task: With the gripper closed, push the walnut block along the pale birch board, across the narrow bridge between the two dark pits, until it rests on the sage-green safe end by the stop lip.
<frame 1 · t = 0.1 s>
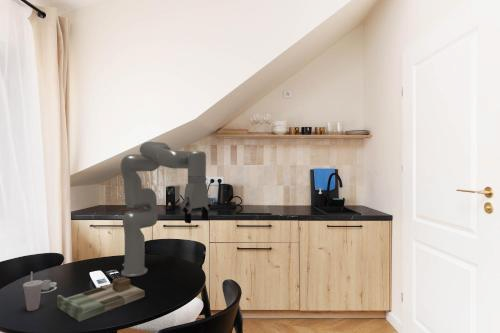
hand: (196, 221, 130), 31 cm above the table, tool pointing down, fingers open, 9 cm apart
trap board: (102, 301, 123), on the table
smoothie: (33, 309, 117), on the table
teacup and saucer: (54, 290, 136), on the table
walnut block: (121, 289, 129), point 2 cm above the table, touching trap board
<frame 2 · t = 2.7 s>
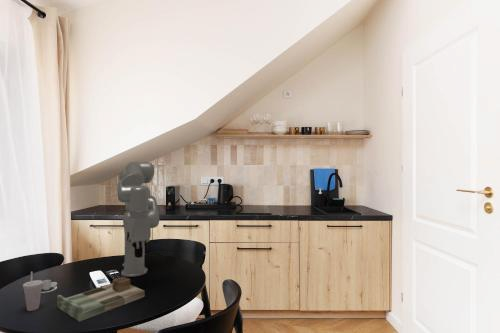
hand: (138, 256, 135), 14 cm above the table, tool pointing down, fingers closed
nothing on the table moved.
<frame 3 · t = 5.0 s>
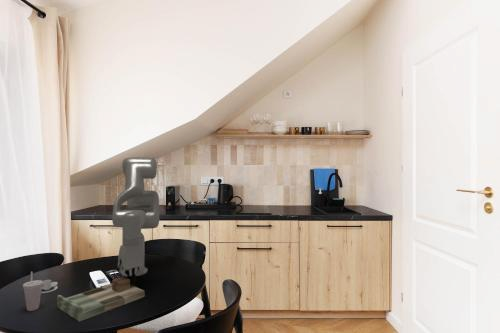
hand: (131, 283, 133), 3 cm above the table, tool pointing down, fingers closed
walnut block: (120, 289, 129), point 3 cm above the table, touching gripper, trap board
everything else where it was.
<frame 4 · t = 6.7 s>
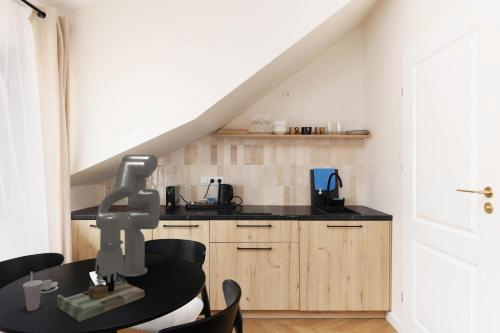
hand: (110, 290, 125), 3 cm above the table, tool pointing down, fingers closed
walnut block: (98, 297, 121), point 3 cm above the table, touching gripper
everything else where it was.
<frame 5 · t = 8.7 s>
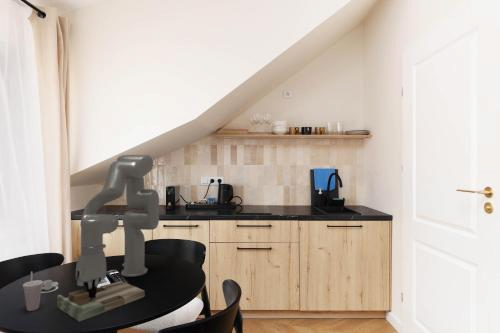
hand: (91, 297, 119), 3 cm above the table, tool pointing down, fingers closed
walnut block: (78, 303, 116), point 2 cm above the table, touching gripper, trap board
everything else where it was.
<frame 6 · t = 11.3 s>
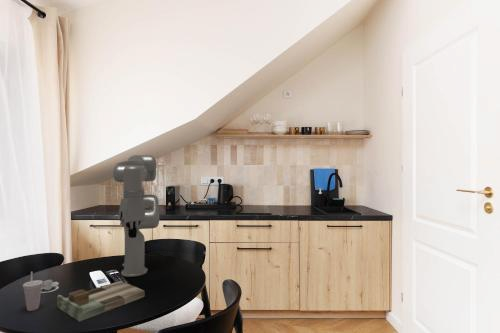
hand: (132, 237, 133), 23 cm above the table, tool pointing down, fingers closed
walnut block: (78, 303, 116), point 2 cm above the table, touching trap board
everything else where it was.
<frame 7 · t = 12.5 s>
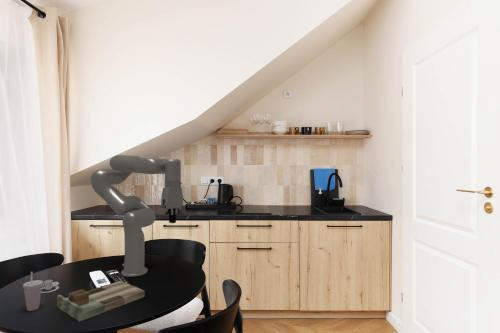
hand: (172, 222, 148), 27 cm above the table, tool pointing down, fingers closed
nothing on the table moved.
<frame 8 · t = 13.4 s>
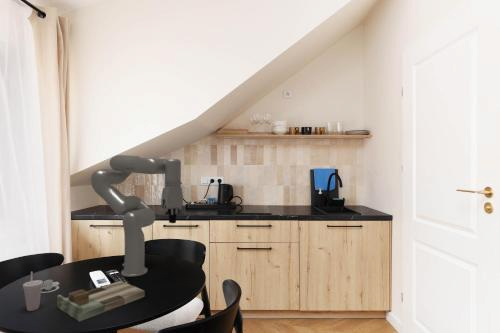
hand: (172, 222, 148), 27 cm above the table, tool pointing down, fingers closed
nothing on the table moved.
at the end: walnut block 0.7 cm from the target spot on the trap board, point 2.5 cm above the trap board's base; walnut block tilted 0°; walnut block moved 17.2 cm from its start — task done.
